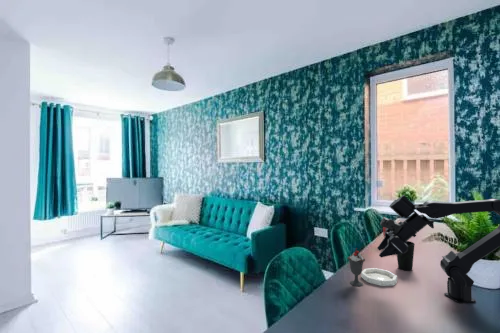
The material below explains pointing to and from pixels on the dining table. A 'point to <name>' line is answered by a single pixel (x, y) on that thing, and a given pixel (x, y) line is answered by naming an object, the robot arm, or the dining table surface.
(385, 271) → the dish
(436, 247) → the dining table surface
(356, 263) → the sundae
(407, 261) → the cup
